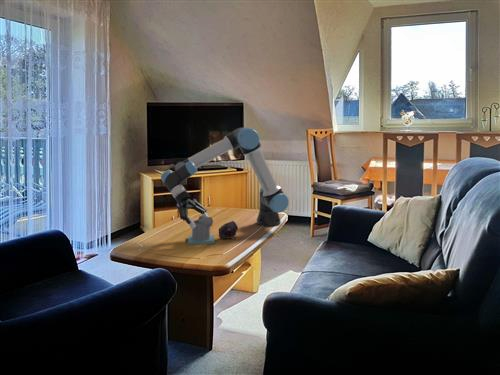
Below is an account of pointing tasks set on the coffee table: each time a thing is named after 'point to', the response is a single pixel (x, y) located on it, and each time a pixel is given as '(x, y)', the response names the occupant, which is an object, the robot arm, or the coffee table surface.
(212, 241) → the teal lid with knob
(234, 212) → the coffee table surface
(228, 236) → the rock
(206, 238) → the elbow
